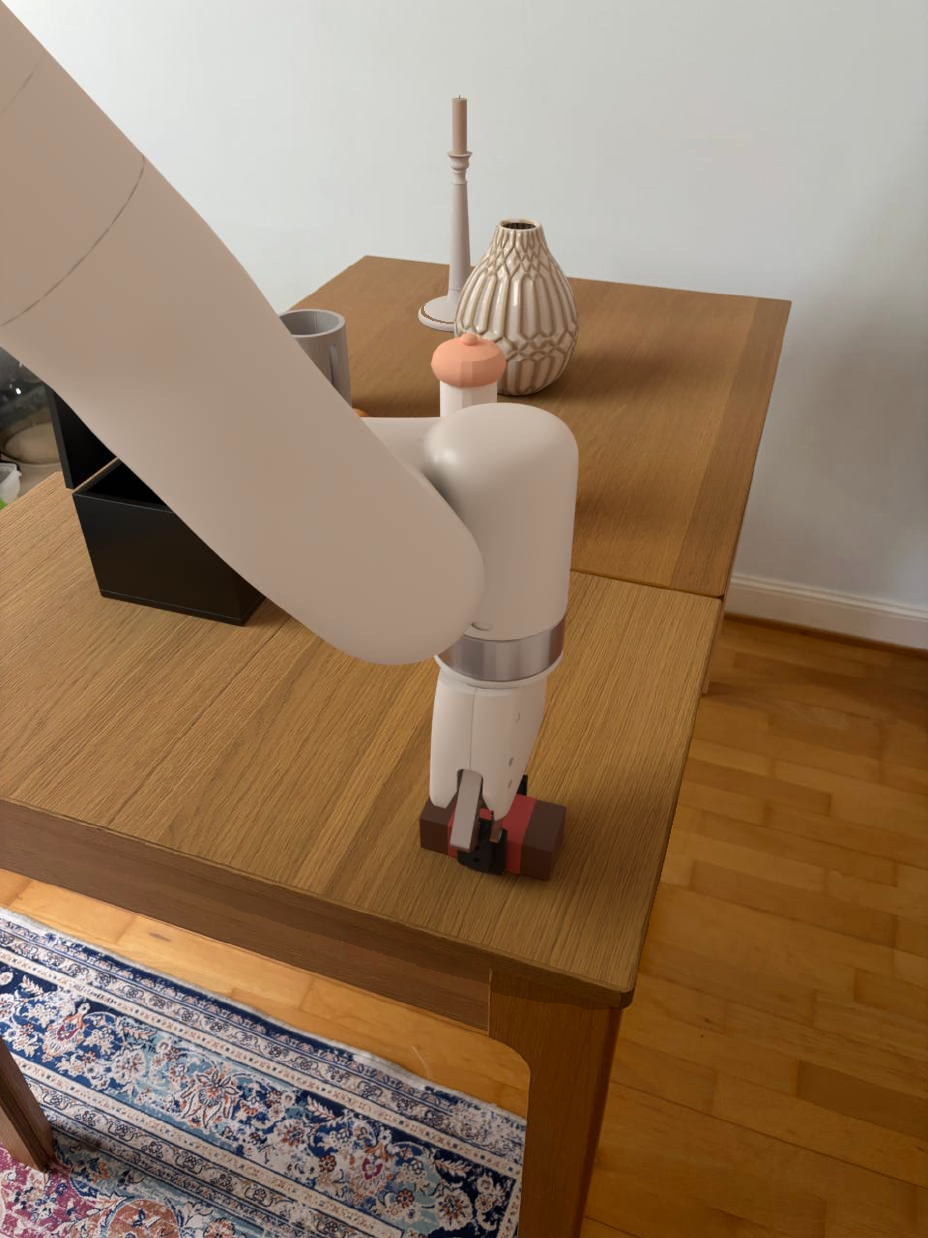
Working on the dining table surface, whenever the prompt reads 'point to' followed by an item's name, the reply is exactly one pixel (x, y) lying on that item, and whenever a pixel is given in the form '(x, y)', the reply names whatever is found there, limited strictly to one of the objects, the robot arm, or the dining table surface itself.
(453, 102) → the candlestick
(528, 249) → the vase
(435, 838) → the chocolate bar
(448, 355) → the salt shaker
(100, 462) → the black lid
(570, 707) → the dining table surface
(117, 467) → the trash bin
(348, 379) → the cup
